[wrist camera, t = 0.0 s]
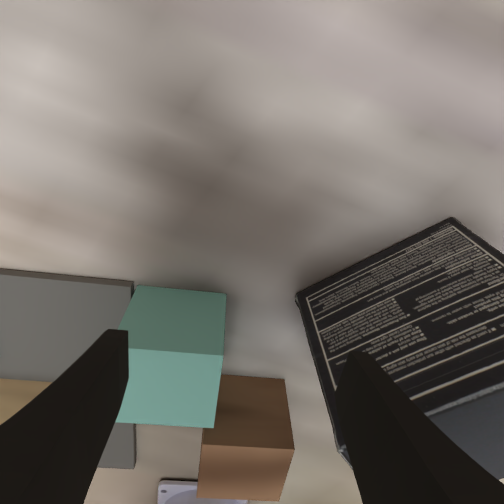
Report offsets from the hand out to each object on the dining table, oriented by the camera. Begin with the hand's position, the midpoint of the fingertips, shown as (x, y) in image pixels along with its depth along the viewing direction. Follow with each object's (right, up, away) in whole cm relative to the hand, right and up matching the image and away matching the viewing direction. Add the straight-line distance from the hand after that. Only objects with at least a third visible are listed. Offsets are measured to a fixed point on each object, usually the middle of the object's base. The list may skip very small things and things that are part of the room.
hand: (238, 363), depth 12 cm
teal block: (-4, -1, +12) cm, 13 cm away
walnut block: (0, -8, +16) cm, 17 cm away
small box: (+9, +1, +11) cm, 15 cm away
